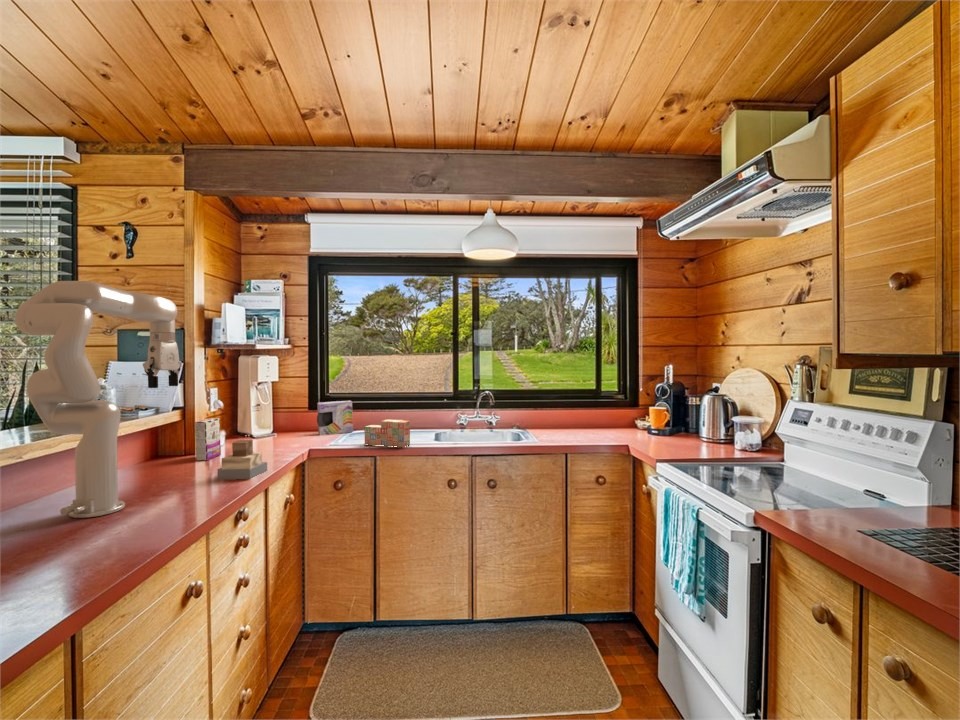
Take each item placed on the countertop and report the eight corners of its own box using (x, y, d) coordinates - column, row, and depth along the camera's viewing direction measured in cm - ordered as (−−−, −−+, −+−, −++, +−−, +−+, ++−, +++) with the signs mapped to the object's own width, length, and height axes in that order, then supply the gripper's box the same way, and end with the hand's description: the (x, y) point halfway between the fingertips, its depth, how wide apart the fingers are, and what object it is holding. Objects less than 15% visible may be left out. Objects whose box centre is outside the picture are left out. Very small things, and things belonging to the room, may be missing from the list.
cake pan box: (317, 435, 263) (317, 403, 262) (316, 434, 267) (315, 402, 267) (353, 432, 272) (353, 401, 272) (351, 431, 276) (350, 400, 276)
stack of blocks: (364, 445, 234) (363, 420, 234) (371, 443, 240) (370, 418, 240) (404, 448, 227) (404, 422, 227) (410, 445, 233) (410, 420, 233)
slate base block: (250, 480, 173) (250, 469, 173) (217, 480, 174) (217, 469, 174) (267, 472, 185) (267, 462, 185) (236, 472, 186) (236, 461, 186)
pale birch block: (250, 468, 174) (250, 457, 174) (221, 469, 173) (221, 458, 173) (261, 462, 184) (261, 452, 184) (234, 463, 183) (234, 452, 183)
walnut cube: (246, 456, 176) (246, 442, 176) (232, 456, 176) (232, 442, 176) (252, 453, 181) (252, 439, 181) (239, 453, 181) (239, 440, 181)
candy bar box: (209, 455, 215) (209, 418, 214) (221, 455, 215) (220, 418, 214) (194, 461, 203) (194, 421, 203) (206, 461, 203) (206, 421, 203)
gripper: (154, 337, 162) (155, 388, 162) (189, 338, 179) (190, 385, 179) (133, 337, 162) (134, 388, 163) (170, 338, 180) (171, 385, 180)
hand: (163, 386), depth 171 cm, fingers open, 9 cm apart
